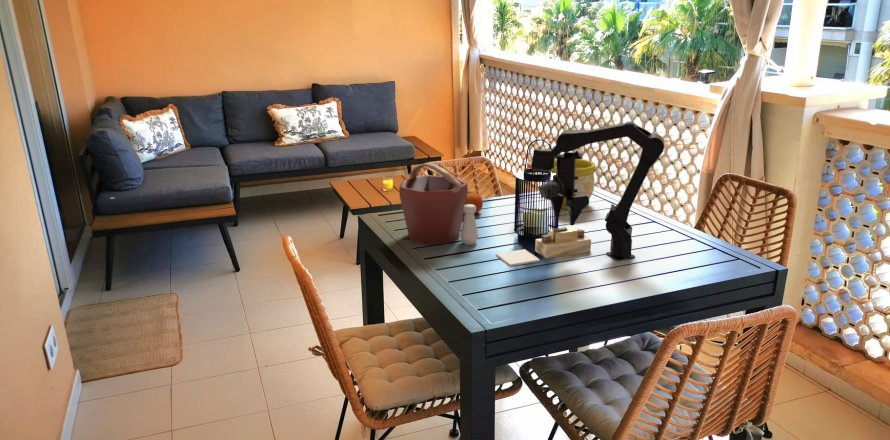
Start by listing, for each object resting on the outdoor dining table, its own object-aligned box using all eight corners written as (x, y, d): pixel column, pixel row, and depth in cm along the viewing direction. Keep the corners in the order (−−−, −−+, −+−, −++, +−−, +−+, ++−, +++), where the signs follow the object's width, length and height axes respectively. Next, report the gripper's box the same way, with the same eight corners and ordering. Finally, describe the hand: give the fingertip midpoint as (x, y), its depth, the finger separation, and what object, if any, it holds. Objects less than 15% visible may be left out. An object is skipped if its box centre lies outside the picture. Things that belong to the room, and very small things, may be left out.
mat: (539, 261, 212) (539, 259, 212) (510, 266, 209) (510, 264, 208) (524, 250, 221) (524, 249, 221) (496, 255, 217) (496, 253, 217)
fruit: (468, 219, 254) (468, 198, 251) (449, 213, 261) (448, 192, 259) (488, 213, 261) (488, 192, 258) (469, 207, 268) (469, 187, 266)
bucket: (476, 243, 229) (476, 169, 221) (413, 252, 221) (411, 176, 213) (449, 222, 250) (448, 154, 243) (390, 230, 243) (387, 160, 235)
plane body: (590, 251, 220) (591, 233, 218) (545, 258, 214) (546, 239, 213) (578, 244, 226) (579, 226, 224) (535, 251, 221) (535, 233, 219)
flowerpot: (597, 211, 260) (599, 168, 256) (549, 211, 261) (550, 169, 256) (589, 198, 278) (591, 158, 273) (543, 198, 278) (545, 158, 273)
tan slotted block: (577, 239, 219) (578, 228, 217) (555, 242, 216) (555, 231, 215) (570, 235, 222) (571, 224, 221) (548, 239, 219) (549, 227, 218)
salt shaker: (476, 246, 226) (476, 208, 222) (459, 245, 227) (459, 207, 223) (479, 240, 231) (479, 203, 227) (462, 239, 232) (462, 202, 228)
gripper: (528, 168, 218) (527, 216, 223) (558, 182, 201) (556, 233, 206) (559, 165, 222) (557, 211, 227) (591, 177, 205) (589, 228, 210)
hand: (564, 220), depth 217 cm, fingers open, 9 cm apart
